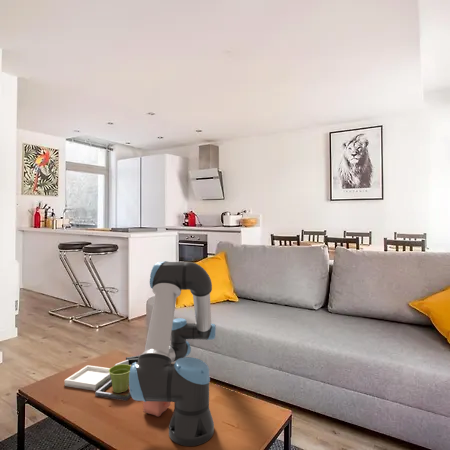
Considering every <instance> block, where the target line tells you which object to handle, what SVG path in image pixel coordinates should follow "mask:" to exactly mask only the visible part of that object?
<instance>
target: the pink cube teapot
mask: <svg viewBox="0 0 450 450" xmlns="http://www.w3.org/2000/svg"><path fill="white" fill-rule="evenodd" d="M142 402H143V403H142V404H143V408H142V410H143V411H142V412H143V413H146V414H147V415H153V416H155V417H160V416H162V414H163V413H164V412H166V411H167V409H168V408H170V406H171V403H172V402H158V401H146V402H144V401H142Z"/></svg>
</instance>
